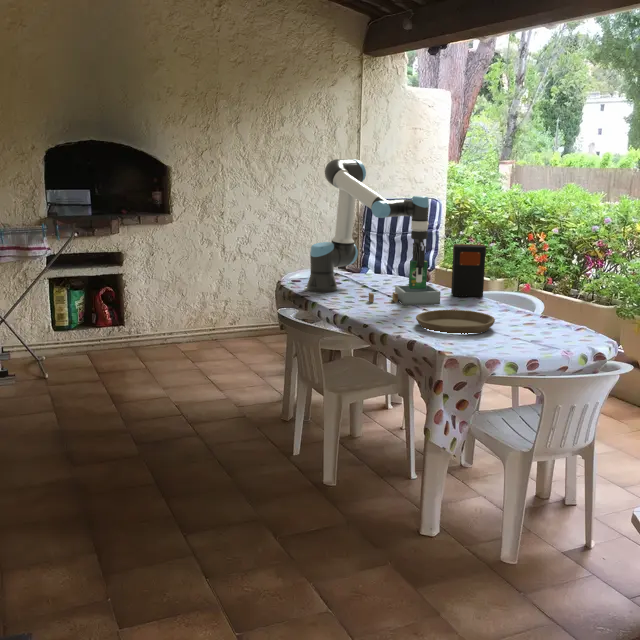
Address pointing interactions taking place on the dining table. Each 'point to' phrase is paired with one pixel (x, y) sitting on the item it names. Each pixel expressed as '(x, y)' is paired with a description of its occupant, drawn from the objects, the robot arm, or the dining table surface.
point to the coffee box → (412, 276)
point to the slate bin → (418, 295)
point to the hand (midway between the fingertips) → (417, 280)
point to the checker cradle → (395, 297)
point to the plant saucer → (455, 321)
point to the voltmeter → (468, 270)
